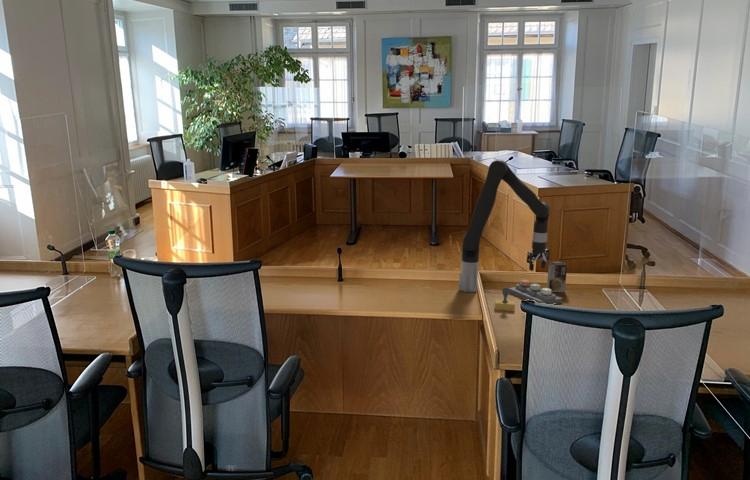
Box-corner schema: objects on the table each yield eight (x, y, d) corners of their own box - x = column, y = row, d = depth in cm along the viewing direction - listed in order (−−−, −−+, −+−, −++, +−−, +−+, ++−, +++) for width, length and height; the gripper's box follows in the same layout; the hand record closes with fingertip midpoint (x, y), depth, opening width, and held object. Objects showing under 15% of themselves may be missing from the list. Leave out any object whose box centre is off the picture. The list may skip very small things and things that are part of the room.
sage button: (535, 291, 333) (535, 287, 332) (528, 289, 337) (528, 284, 336) (542, 290, 335) (542, 285, 334) (535, 287, 339) (535, 283, 339)
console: (542, 307, 323) (543, 299, 322) (508, 292, 345) (509, 284, 343) (561, 302, 330) (562, 294, 329) (527, 288, 351) (527, 281, 350)
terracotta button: (524, 287, 339) (525, 283, 339) (518, 284, 344) (518, 280, 343) (531, 286, 342) (531, 281, 341) (525, 283, 346) (525, 279, 345)
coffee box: (562, 288, 352) (565, 261, 348) (565, 292, 345) (567, 265, 341) (546, 288, 353) (548, 261, 348) (548, 291, 346) (550, 264, 342)
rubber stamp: (494, 310, 318) (496, 287, 315) (495, 306, 324) (496, 284, 321) (514, 311, 316) (516, 289, 313) (514, 307, 322) (516, 285, 319)
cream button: (546, 296, 326) (546, 291, 325) (539, 293, 330) (539, 288, 330) (553, 294, 328) (553, 290, 328) (546, 291, 333) (546, 287, 332)
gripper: (544, 237, 336) (541, 265, 340) (524, 240, 328) (522, 269, 333) (554, 240, 329) (551, 269, 333) (534, 243, 322) (532, 273, 326)
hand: (537, 269), depth 333 cm, fingers open, 8 cm apart
